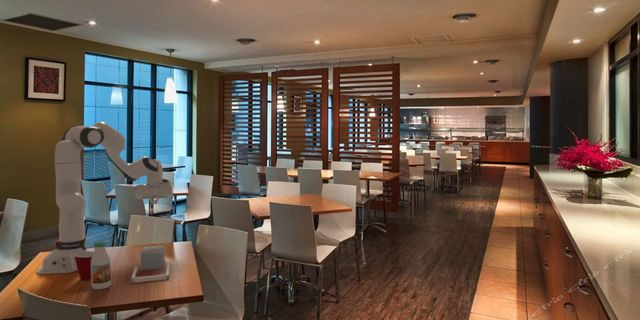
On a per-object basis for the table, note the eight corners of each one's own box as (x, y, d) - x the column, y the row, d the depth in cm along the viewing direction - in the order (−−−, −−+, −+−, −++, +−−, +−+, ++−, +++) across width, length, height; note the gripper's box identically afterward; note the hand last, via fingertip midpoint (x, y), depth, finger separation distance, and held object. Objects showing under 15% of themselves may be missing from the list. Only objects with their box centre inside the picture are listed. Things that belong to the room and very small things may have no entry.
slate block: (141, 270, 219) (140, 254, 219) (144, 262, 233) (144, 247, 232) (162, 268, 222) (162, 252, 221) (164, 260, 235) (164, 245, 235)
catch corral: (131, 282, 201) (131, 278, 201) (134, 271, 217) (134, 267, 217) (168, 279, 206) (168, 274, 206) (169, 268, 222) (169, 264, 222)
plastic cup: (105, 277, 209) (104, 251, 208) (82, 283, 200) (81, 257, 199) (92, 273, 215) (91, 248, 214) (69, 279, 206) (68, 254, 205)
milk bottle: (87, 288, 194) (85, 243, 193) (101, 283, 201) (100, 239, 200) (101, 291, 191) (99, 245, 190) (115, 285, 198) (113, 240, 197)
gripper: (134, 181, 253) (133, 201, 244) (172, 180, 259) (172, 199, 250) (135, 188, 257) (134, 208, 249) (173, 186, 263) (173, 205, 255)
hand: (154, 203), depth 249 cm, fingers closed
